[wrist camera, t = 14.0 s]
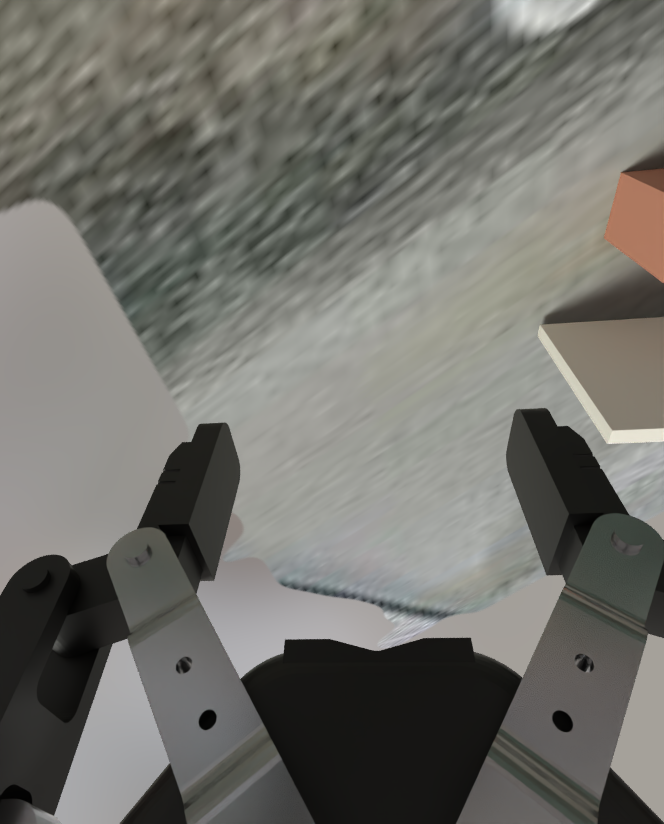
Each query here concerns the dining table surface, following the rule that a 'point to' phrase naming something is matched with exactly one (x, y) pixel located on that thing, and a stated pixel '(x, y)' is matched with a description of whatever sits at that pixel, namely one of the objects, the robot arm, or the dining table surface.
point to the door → (614, 373)
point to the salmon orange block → (639, 219)
